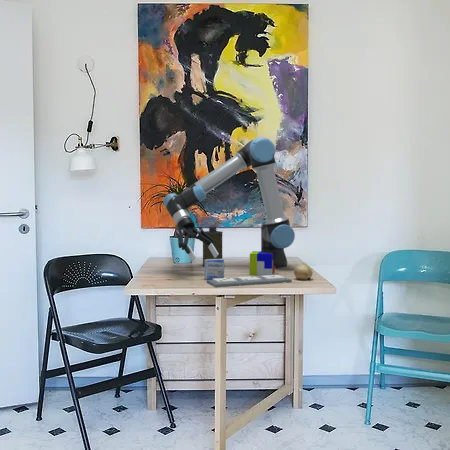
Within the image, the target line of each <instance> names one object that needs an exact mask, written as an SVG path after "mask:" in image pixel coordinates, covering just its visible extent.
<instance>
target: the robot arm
mask: <svg viewBox="0 0 450 450" xmlns="http://www.w3.org/2000/svg"><path fill="white" fill-rule="evenodd" d="M275 155H276V147H275V144H274V143H273V141H271V140H270V139H269V138H266V137H257V138H255V139H252V140H250V141H248V142H247V143H246V144H245V145H244V146H242V147H241V148H240V149H239V150H238V151H236V152H235V154H234V156H233V157H231V158H229V159H228V160H227V161H225V162H224V163H222V164H220V165H219V166H218V167H216V168H215V169H213V170H212V171H210V172H209V173H207V174H206V175H204V176H203V177H202V178H200V179H199V180H198V181H196V182H194V183H193V184H192V185H190V186H188V187H187V188H184V190H183V191H182V192H181V193H180V194H177V193H175V192H171V193H169V194H167V195H165V197H164V198H163V202H162V203H163V204H164V207H165V209H166V210H167V213H168V214H169V216H170V217H171V218H172V220H173V221H174V223H175V225H176V226H177V228H178V229H177V231H176V236H177V242H178V243H177V244H178V248H179V249H181V250H182V251H185V253H186V254H187V255H188V257H189V258H190V260H191V261H194V260H195V259H196V257H197V256H196V254H195V252H194V251H193V249H192V247H191V246H190V245H188V243H189V239H196V240H198V241H200V242H202V244H203V243H205V244H207V245H208V248H209V250H210V251H211V253H212V254H213V256H214V258H216V257H217V256H218V254H219V253H218V252H217V250H216V248H215V246H214V243H215V240H214V239H213V238H212V237H210V236H209V235H208V234H207V233H206V232H205V230H204V229H203V228H202V227H201V226H200V227H199V228H197V227H196V225H195V222H194V221H193V219H192V217H191V216H190V213H189V212H188V209H189V208H191V207H192V206H195V205H197V204H198V203H200V202H202V201H203V200H205V199H207V193H209V192H211V191H212V190H213V189H215V188H217V187H218V186H220V185H221V184H222V183H224V182H225V181H227V180H228V179H230V178H231V177H233V176H234V175H236V174H238V173H239V172H240V171H242V170H244V169H248V168H250V167H251V169H252V170H253V171H255V172H256V177H257V181H258V186H259V188H260V189H259V190H260V193H261V198H262V202H263V207H264V210H265V215H266V220H262V221H261V225H260V237H261V238H260V242H261V243H260V246H261V247H260V251H264V252H274V268H282V267H287V266H288V259H287V256H286V253H285V249H286V248H288V247H290V246H291V245H292V244H293V243H294V240H295V238H296V234H295V230H294V229H293V227H292V226H291V223H290V220H289V217H288V216H286V215H285V211H284V208H283V207H284V206H283V203H282V199H281V194H280V190H279V184H278V181H277V175H276V172H275V168H274V167H275V165H276V164H277V163H276V157H275Z"/></svg>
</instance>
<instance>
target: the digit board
mask: <svg viewBox="0 0 450 450" xmlns="http://www.w3.org/2000/svg"><path fill="white" fill-rule="evenodd" d="M283 282H287V283H292V282H293V280H292V279H290V278H287V277H285V276H283V275H279V274H273V275H265V276H253V275H249V276H237V277H235V278H232V277H224V278H215V279H213V280H207V279H206V283H207V284H208V285H211V286H212V285H213V287H215V288H225V287H236V286H237V287H238V286H239V285H241V286H252V285H253V286H254V285H255V284H257V285H271V284H270V283H272V284H284V283H283Z"/></svg>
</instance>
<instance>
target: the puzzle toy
mask: <svg viewBox="0 0 450 450" xmlns="http://www.w3.org/2000/svg"><path fill="white" fill-rule="evenodd" d="M274 273H275V267H274V252H264V251H261V250H259V251H257V250H256V251H255V250H253V251H252V252H249V276H255V277H261V276H265V275H274Z"/></svg>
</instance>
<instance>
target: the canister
mask: <svg viewBox="0 0 450 450" xmlns="http://www.w3.org/2000/svg"><path fill="white" fill-rule="evenodd" d="M204 231H205V230H204ZM205 232H206V233H207V234H208V235H209V236H210V237H212V238H213V239H214V240H215V243H214V246H215V248H216V250H217V252H218V253H219V254H218V256H217V257H216V258H214V256H213V254H212V253H211V251H210V250H209V248H208V245H207V244H205V243H203V242H202V267H204V266H205V265H204V260H205V259H223V231H219V230H218V229H217V226H209V227H208V231H207V230H206V231H205Z"/></svg>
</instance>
